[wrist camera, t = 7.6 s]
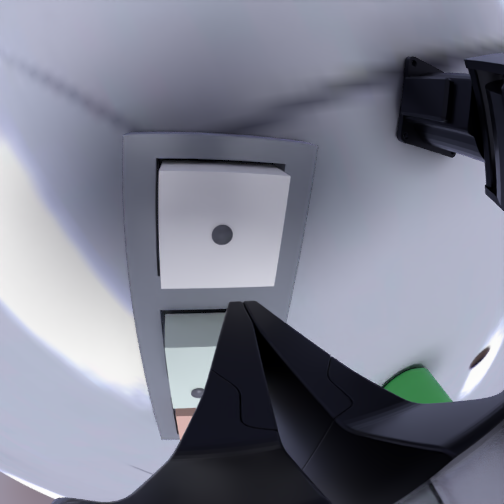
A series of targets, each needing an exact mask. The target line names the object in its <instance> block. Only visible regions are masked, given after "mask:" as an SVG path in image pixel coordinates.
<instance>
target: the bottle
mask: <svg viewBox="0 0 504 504" xmlns="http://www.w3.org/2000/svg"><path fill="white" fill-rule="evenodd" d="M384 389H386V390H388V391H390V392H392V393H394V394H396V395H397V396H399V397H401V398H403V399H406V400H408V401H411V402H415V403H422V404H428V403H444V402H453V401H452V400H451V399H450V398H449V396H448V395H447V394H446V392H445V391H444V390H443V388H442V387H441V386H440V385H439V383H438V382H437V381H436V380H435V378H434V377H433V376H432V375H431V373H430V372H429V371H428V370H427V369H425V368H416V369H410V370H408V371H405V372H403V373H401V374H400V375H398V376H397V377H395V378H394V379H393V380H391V381H390V382H389V383H388V384H387V385H386V386H385V387H384Z"/></svg>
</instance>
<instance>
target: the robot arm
mask: <svg viewBox="0 0 504 504" xmlns="http://www.w3.org/2000/svg"><path fill="white" fill-rule="evenodd" d="M464 61H465V65H466V68H468V70H469V74H464V73H444V72H442V71H440V70H439V69H437V68H435V67H433V66H431V65H429V64H427V63H426V62H424V61H422V60H420V59H418V58H416V57H407V58H406V61H405V73H404V84H403V94H402V102H401V110H400V118H399V125H398V131H397V137H398V140H399V141H401V142H404V143H407V144H411V145H414V146H417V147H421V148H424V149H427V150H430V151H433V152H436V153H440V154H442V155H445V156H448V157H451V158H453V157H454V156H455V154H456V153H459V154H462V155H465V156H468V157H471V158H474V159H476V160H479V161H482V162H485V173H486V185H485V194H486V195H487V196H488V197H489V198H491V199H492V200H493V201H494V202H495V203H496V204H497V205H498V206H499V207H500V208H501V209H502V210H503V211H504V53H494V54H488V55H482V56H477V57H471V58H466V59H464ZM412 62H413V65H412ZM404 133H405V137H403V134H404ZM52 504H504V391H502V392H501V393H499V394H497V395H495V396H492V397H488V398H483V399H476V400H467V401H457V402H444V403H428V404H422V403H415V402H411V401H408V400H406V399H403V398H401V397H399V396H397V395H396V394H394V393H392V392H390V391H388V390H386V389H384V388H383V387H381V386H379V385H377V384H375V383H373V382H372V381H370V380H368V379H366V378H365V377H363V376H361V375H359V374H358V373H356V372H354V371H353V370H351V369H350V368H348V367H347V366H345V365H344V364H342V363H341V362H339V361H338V360H337V359H335V358H334V357H331V356H330V355H329V354H328V353H327V352H325V351H324V350H322V349H321V348H320V347H318V346H317V345H315V344H314V343H313V342H311V341H310V340H308V339H307V338H306V337H304V336H303V335H302V334H300V333H299V332H297V331H296V330H295V329H293V328H292V327H291V326H289V325H288V324H287V323H285V322H284V321H282V320H281V319H280V318H278V317H277V316H276V315H274V314H273V313H272V312H270V311H269V310H268V309H266V308H265V307H264V306H262V305H261V304H260V303H258V302H257V301H255V300H252V301H243V302H241V301H230V302H229V303H228V306H227V310H226V313H225V317H224V320H223V324H222V328H221V331H220V335H219V338H218V342H217V346H216V349H215V353H214V357H213V360H212V364H211V368H210V371H209V374H208V378H207V381H206V385H205V388H204V391H203V394H202V396H201V398H200V401H199V403H198V405H197V408H196V410H195V412H194V414H193V416H192V418H191V420H190V422H189V424H188V426H187V428H186V430H185V432H184V434H183V436H182V438H181V440H180V442H179V444H178V446H177V448H176V449H175V451H174V453H173V454H172V456H171V457H170V458H169V460H168V461H167V462H166V463H165V464H164V465H163V466H162V467H161V468H159V469H158V470H157V471H156V472H155V473H154V474H153V475H152V476H151V477H150V478H149V479H148V480H147V481H145V482H144V483H143V484H142V485H141V486H140V487H139V488H138V489H137V490H135V491H134V492H133V493H132V494H131V495H129V496H128V497H126V498H124V499H121V500H118V501H112V502H96V501H90V500H83V499H76V498H66V497H65V498H57V499H55V500H54V501H53V502H52Z"/></svg>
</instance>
